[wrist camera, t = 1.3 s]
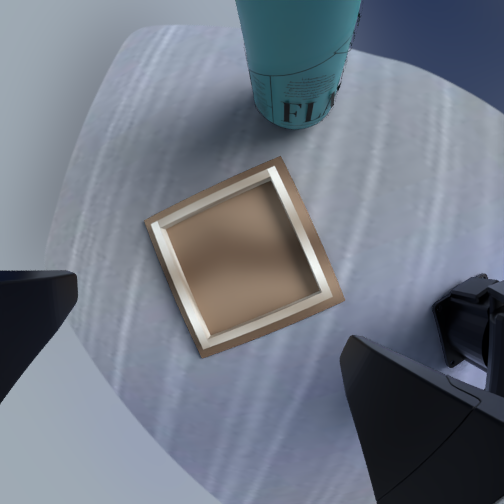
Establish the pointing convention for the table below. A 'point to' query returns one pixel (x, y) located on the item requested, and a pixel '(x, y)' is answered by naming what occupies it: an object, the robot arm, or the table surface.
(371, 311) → the table surface
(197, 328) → the tray
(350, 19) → the beverage bottle
